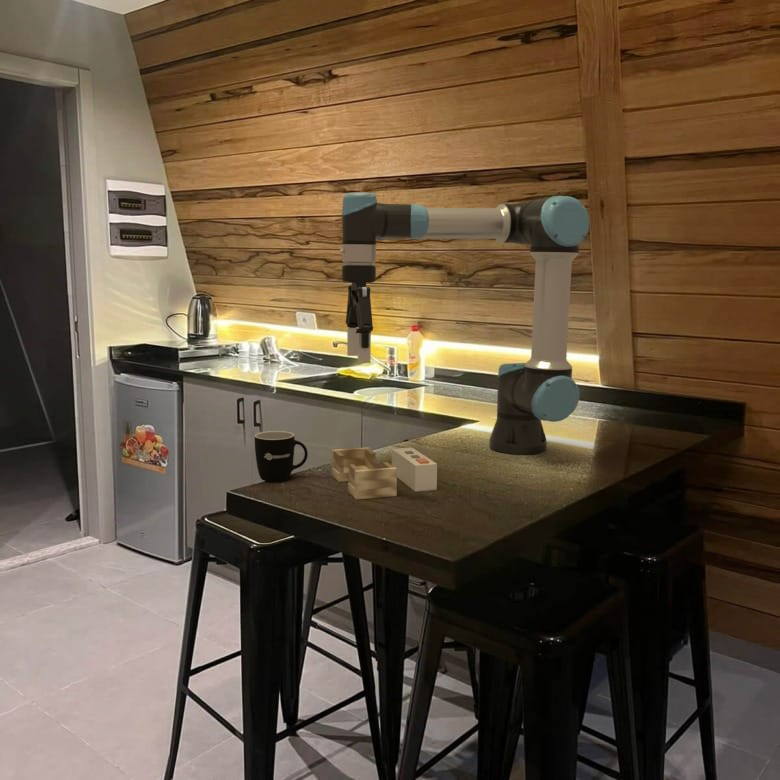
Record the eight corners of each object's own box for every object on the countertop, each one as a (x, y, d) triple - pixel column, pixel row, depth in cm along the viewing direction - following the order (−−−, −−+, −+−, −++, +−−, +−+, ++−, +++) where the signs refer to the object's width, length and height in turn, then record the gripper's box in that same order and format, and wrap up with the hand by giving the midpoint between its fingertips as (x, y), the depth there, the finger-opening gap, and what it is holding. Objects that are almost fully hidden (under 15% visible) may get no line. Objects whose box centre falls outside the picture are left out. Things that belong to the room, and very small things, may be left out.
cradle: (368, 472, 188) (368, 447, 187) (396, 495, 169) (396, 468, 168) (331, 475, 185) (331, 449, 184) (355, 499, 166) (355, 471, 165)
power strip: (411, 472, 189) (411, 445, 188) (436, 490, 174) (437, 461, 173) (391, 473, 188) (391, 446, 186) (415, 492, 173) (415, 463, 172)
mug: (257, 485, 176) (257, 440, 175) (253, 474, 185) (252, 431, 183) (311, 481, 180) (311, 437, 178) (304, 471, 188) (303, 429, 186)
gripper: (333, 263, 188) (333, 352, 192) (352, 264, 164) (351, 366, 168) (365, 264, 190) (364, 352, 194) (387, 265, 166) (386, 365, 169)
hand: (358, 359), depth 181 cm, fingers open, 13 cm apart
